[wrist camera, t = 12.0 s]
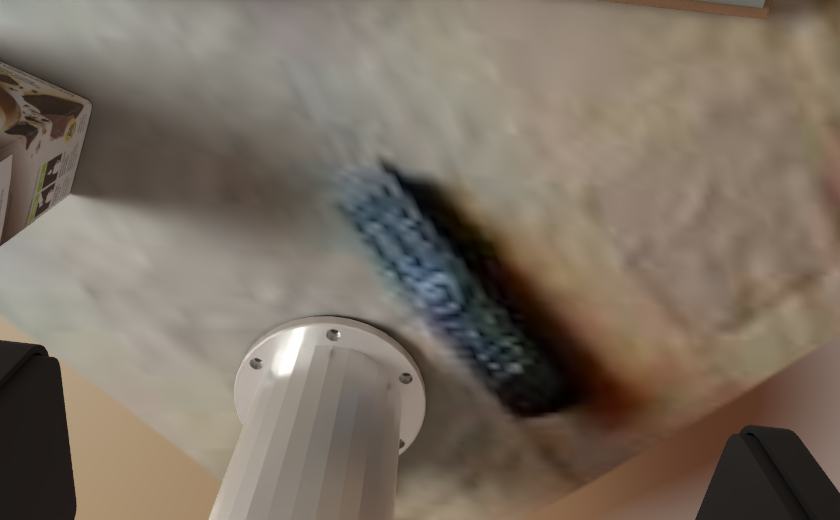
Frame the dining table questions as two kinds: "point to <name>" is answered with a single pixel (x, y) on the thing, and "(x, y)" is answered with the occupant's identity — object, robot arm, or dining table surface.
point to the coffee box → (36, 147)
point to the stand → (711, 6)
